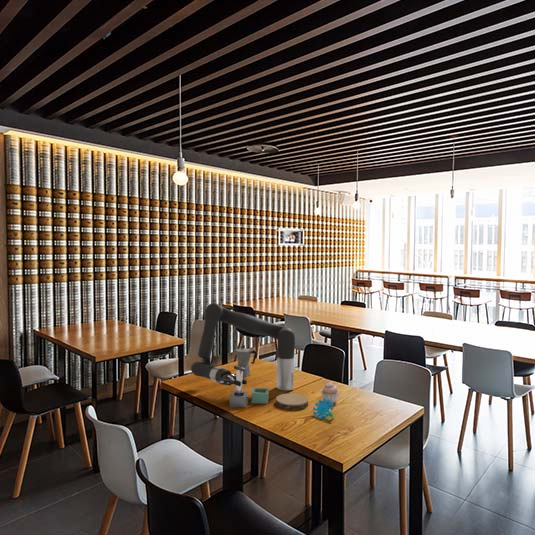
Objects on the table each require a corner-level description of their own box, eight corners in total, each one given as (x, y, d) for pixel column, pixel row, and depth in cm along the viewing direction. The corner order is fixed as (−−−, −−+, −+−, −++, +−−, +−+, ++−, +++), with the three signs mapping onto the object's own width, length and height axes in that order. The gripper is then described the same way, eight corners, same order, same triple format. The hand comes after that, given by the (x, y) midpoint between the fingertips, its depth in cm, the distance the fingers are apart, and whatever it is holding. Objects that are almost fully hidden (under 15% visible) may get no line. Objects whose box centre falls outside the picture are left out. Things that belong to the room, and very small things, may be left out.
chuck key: (230, 402, 203) (231, 365, 202) (235, 401, 205) (236, 364, 205) (241, 407, 198) (242, 369, 197) (246, 405, 200) (247, 368, 199)
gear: (308, 411, 190) (321, 394, 193) (313, 417, 193) (326, 400, 196) (324, 422, 181) (337, 404, 184) (330, 429, 184) (343, 411, 187)
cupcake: (339, 399, 211) (340, 380, 211) (338, 405, 202) (338, 385, 202) (321, 397, 214) (322, 378, 213) (319, 403, 205) (319, 383, 204)
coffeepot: (230, 375, 249) (230, 345, 249) (236, 371, 258) (237, 342, 258) (253, 378, 244) (254, 348, 243) (259, 374, 253) (260, 345, 252)
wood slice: (276, 410, 195) (276, 404, 195) (275, 398, 211) (275, 393, 211) (309, 411, 195) (309, 405, 195) (306, 399, 211) (306, 393, 211)
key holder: (268, 398, 211) (268, 388, 211) (267, 403, 203) (267, 393, 203) (253, 397, 212) (253, 387, 211) (251, 402, 204) (251, 392, 203)
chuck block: (247, 401, 205) (248, 391, 205) (245, 407, 197) (246, 397, 197) (231, 400, 206) (232, 391, 206) (229, 406, 198) (229, 396, 198)
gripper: (209, 370, 206) (232, 378, 194) (230, 365, 216) (253, 372, 204) (209, 385, 206) (232, 394, 194) (230, 380, 216) (253, 387, 204)
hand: (243, 383), depth 199 cm, fingers closed on chuck key, 3 cm apart
